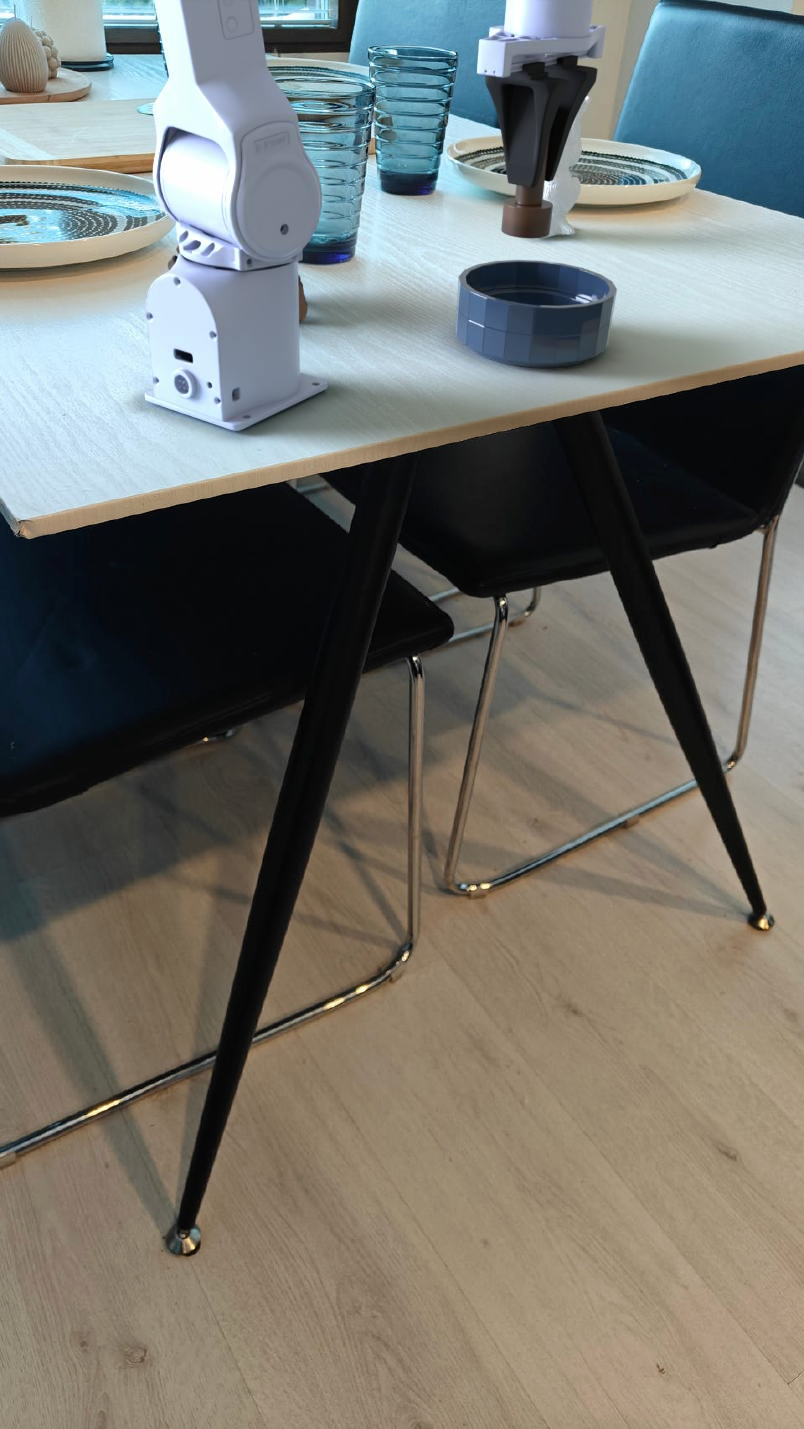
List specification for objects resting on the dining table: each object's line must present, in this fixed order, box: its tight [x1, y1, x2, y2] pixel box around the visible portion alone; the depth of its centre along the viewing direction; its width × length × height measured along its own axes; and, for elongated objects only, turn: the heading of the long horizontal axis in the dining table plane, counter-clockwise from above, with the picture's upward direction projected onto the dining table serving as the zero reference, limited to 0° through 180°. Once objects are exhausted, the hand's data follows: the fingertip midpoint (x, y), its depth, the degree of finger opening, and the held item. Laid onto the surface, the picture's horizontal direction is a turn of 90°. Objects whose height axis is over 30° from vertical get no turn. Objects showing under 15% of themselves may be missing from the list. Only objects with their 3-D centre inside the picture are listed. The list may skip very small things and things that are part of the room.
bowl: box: [454, 259, 618, 369], centre depth 81 cm, size 11×11×4 cm
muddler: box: [500, 134, 553, 239], centre depth 78 cm, size 4×4×8 cm
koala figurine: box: [541, 95, 593, 239], centre depth 104 cm, size 8×7×12 cm
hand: (530, 182), depth 79 cm, fingers closed on muddler, 2 cm apart
